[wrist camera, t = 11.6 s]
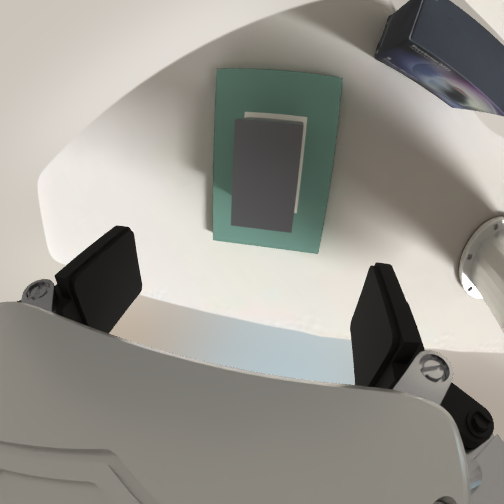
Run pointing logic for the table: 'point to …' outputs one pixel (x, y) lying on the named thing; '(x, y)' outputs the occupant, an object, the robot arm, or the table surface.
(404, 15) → the small box
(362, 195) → the table surface
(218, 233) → the board
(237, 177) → the block
